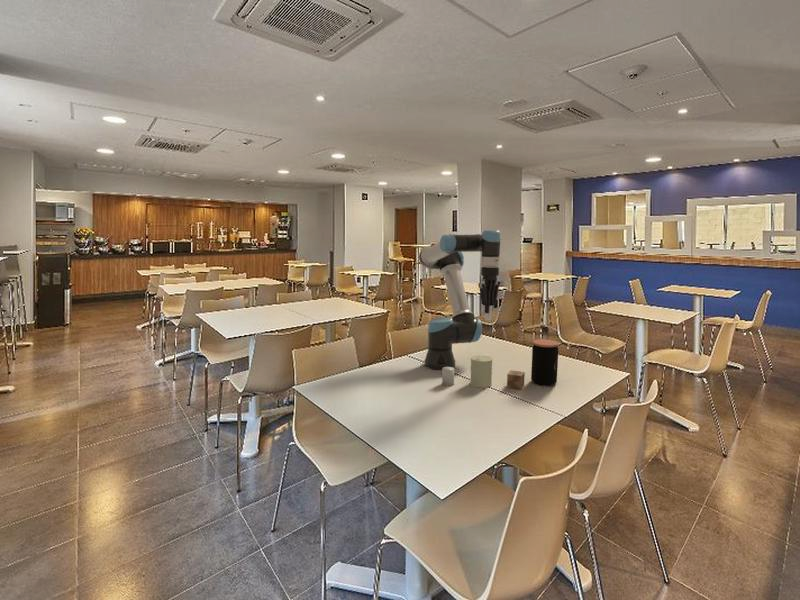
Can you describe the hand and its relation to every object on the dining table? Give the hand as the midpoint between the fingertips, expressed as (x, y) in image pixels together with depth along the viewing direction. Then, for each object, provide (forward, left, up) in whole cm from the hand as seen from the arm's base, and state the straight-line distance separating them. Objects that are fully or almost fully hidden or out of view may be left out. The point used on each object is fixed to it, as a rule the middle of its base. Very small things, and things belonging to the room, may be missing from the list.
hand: (488, 319), depth 190 cm
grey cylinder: (-7, -19, -26) cm, 33 cm away
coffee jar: (+21, +12, -27) cm, 36 cm away
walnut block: (+15, -1, -27) cm, 31 cm away
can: (+3, -9, -27) cm, 28 cm away
